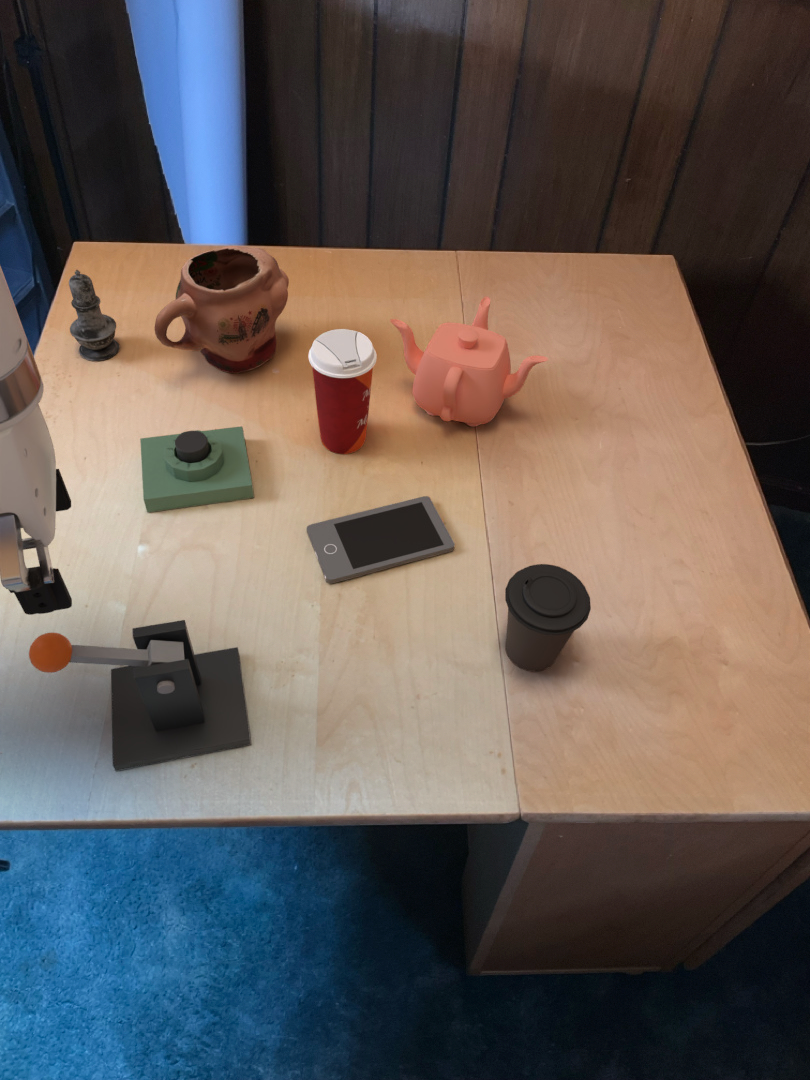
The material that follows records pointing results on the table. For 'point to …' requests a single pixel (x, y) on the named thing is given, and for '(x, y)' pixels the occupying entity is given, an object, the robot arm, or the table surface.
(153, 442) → the control block
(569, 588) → the coffee cup
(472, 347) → the teapot
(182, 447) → the button
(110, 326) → the salt shaker
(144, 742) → the lever base
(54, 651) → the switch lever
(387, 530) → the smartphone
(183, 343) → the decorative planter
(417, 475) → the table surface
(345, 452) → the paper cup
